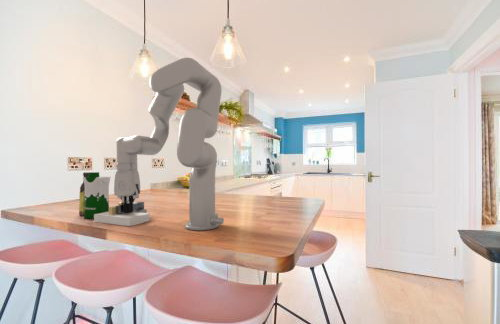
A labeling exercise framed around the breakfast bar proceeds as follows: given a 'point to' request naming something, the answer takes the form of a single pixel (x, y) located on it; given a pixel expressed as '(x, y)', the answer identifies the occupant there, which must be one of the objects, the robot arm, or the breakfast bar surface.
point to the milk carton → (96, 194)
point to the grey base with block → (121, 217)
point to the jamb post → (141, 211)
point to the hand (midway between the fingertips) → (128, 212)
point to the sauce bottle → (82, 196)
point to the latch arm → (135, 207)
